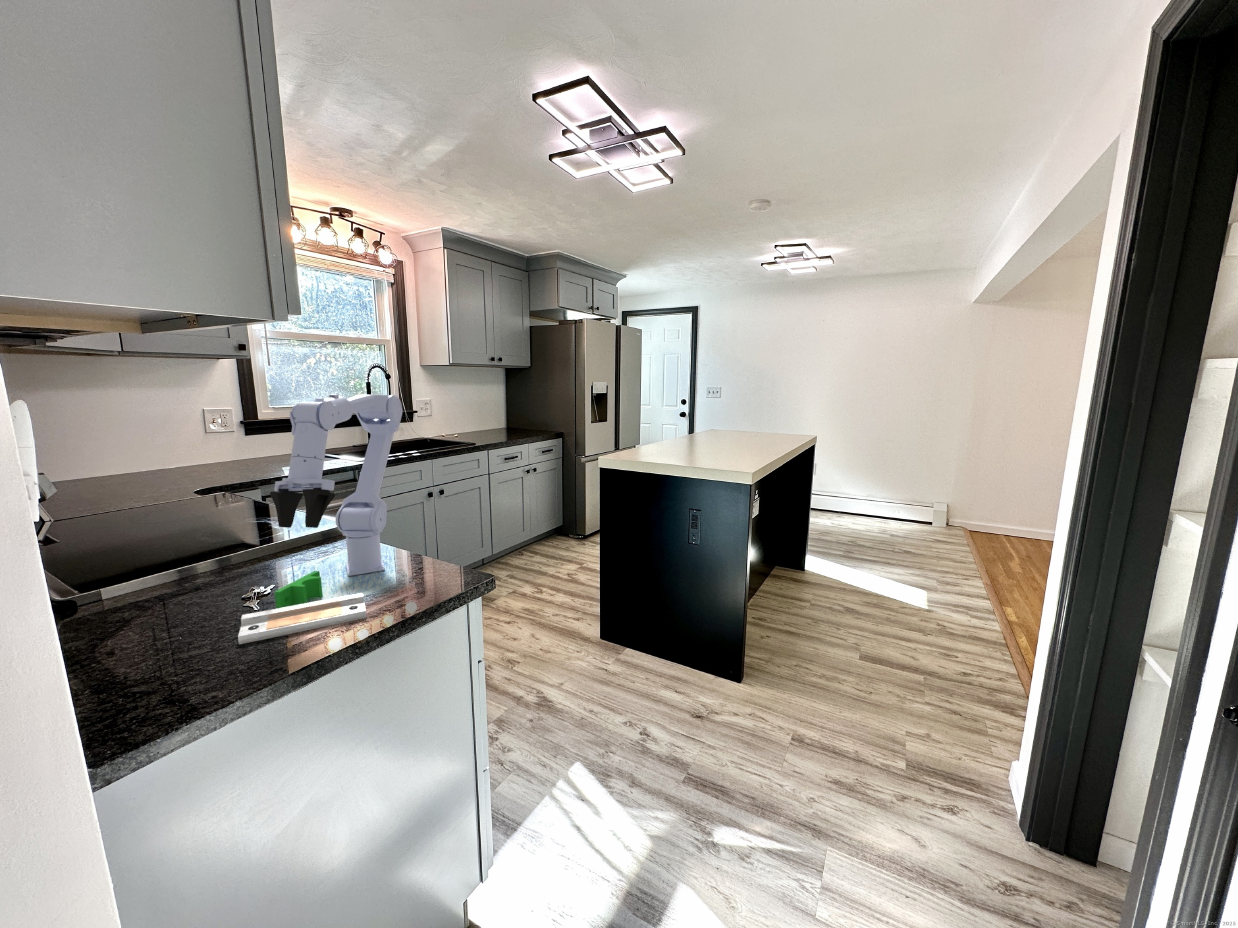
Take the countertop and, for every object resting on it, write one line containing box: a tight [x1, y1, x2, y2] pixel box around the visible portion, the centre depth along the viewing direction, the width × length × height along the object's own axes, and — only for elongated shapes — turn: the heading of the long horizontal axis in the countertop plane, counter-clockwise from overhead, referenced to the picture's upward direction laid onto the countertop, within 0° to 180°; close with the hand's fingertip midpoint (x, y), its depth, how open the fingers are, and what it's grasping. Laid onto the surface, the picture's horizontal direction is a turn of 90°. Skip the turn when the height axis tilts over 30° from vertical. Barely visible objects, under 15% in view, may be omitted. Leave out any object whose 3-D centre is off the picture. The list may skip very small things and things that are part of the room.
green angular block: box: [274, 570, 324, 609], centre depth 105 cm, size 11×4×5 cm, turn 173°
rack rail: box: [237, 592, 367, 645], centre depth 95 cm, size 7×20×2 cm, turn 121°
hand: (298, 527), depth 99 cm, fingers open, 7 cm apart
